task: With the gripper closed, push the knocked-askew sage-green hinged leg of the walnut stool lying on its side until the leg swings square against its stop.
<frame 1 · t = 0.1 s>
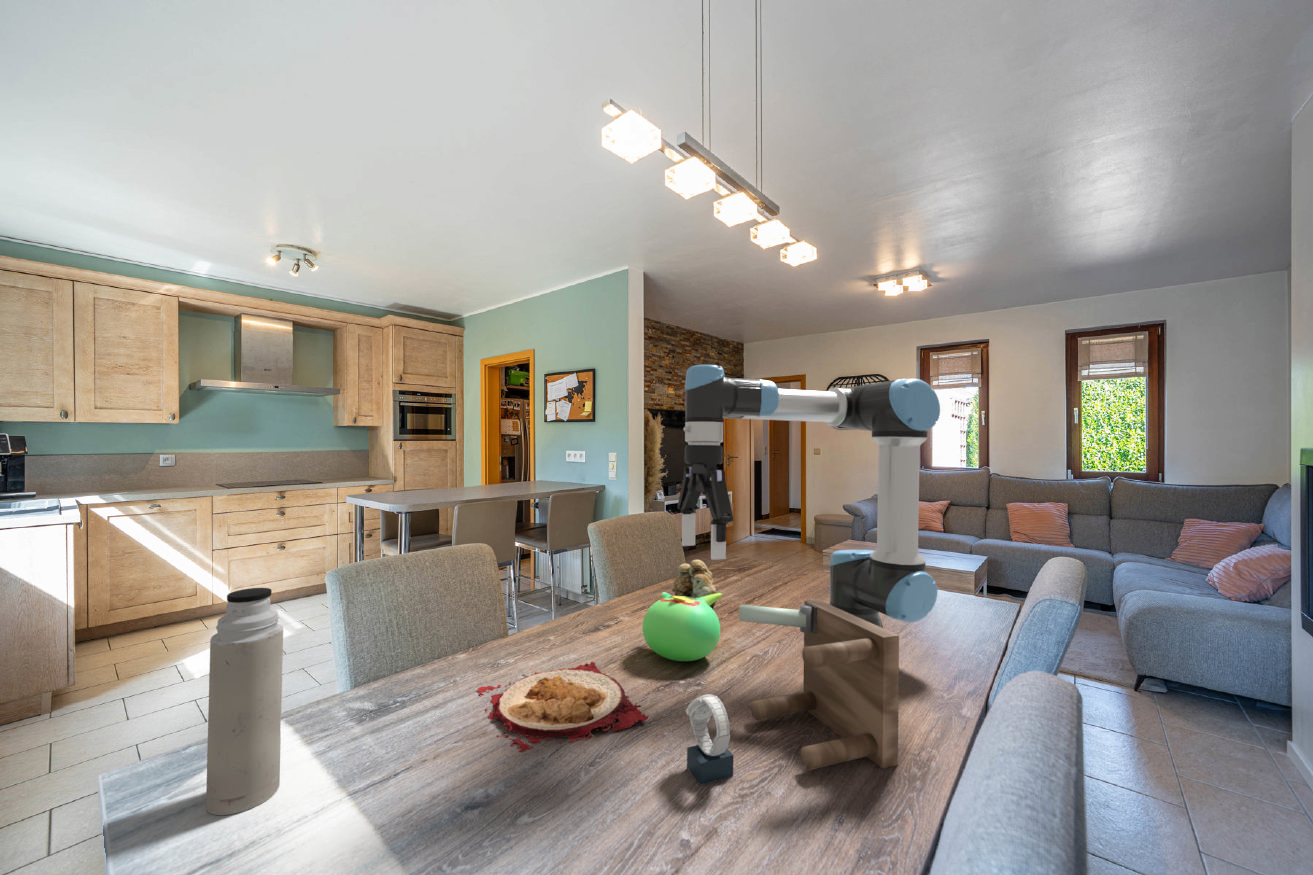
hand: (702, 551, 105), 28 cm above the table, tool pointing down, fingers open, 13 cm apart
watch: (709, 772, 80), on the table
plate with food: (557, 710, 99), on the table
stool: (845, 733, 91), on the table
toy bird: (681, 657, 123), on the table
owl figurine: (693, 621, 148), on the table
thermos bottle: (244, 796, 73), on the table
hinged leg: (775, 616, 99), point 18 cm above the table, hinge at -35.0°
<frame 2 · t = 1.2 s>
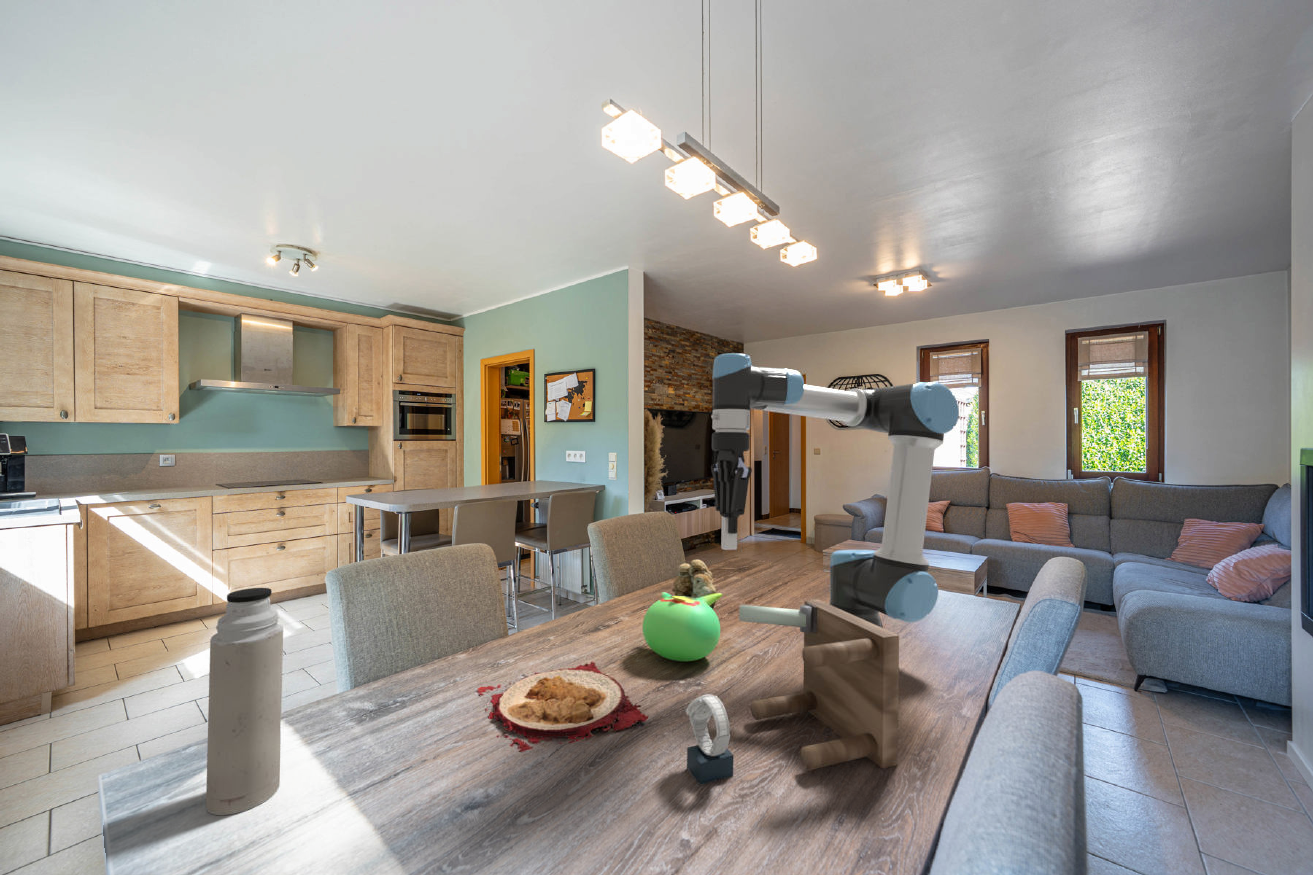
hand: (729, 548, 107), 28 cm above the table, tool pointing down, fingers closed
nothing on the table moved.
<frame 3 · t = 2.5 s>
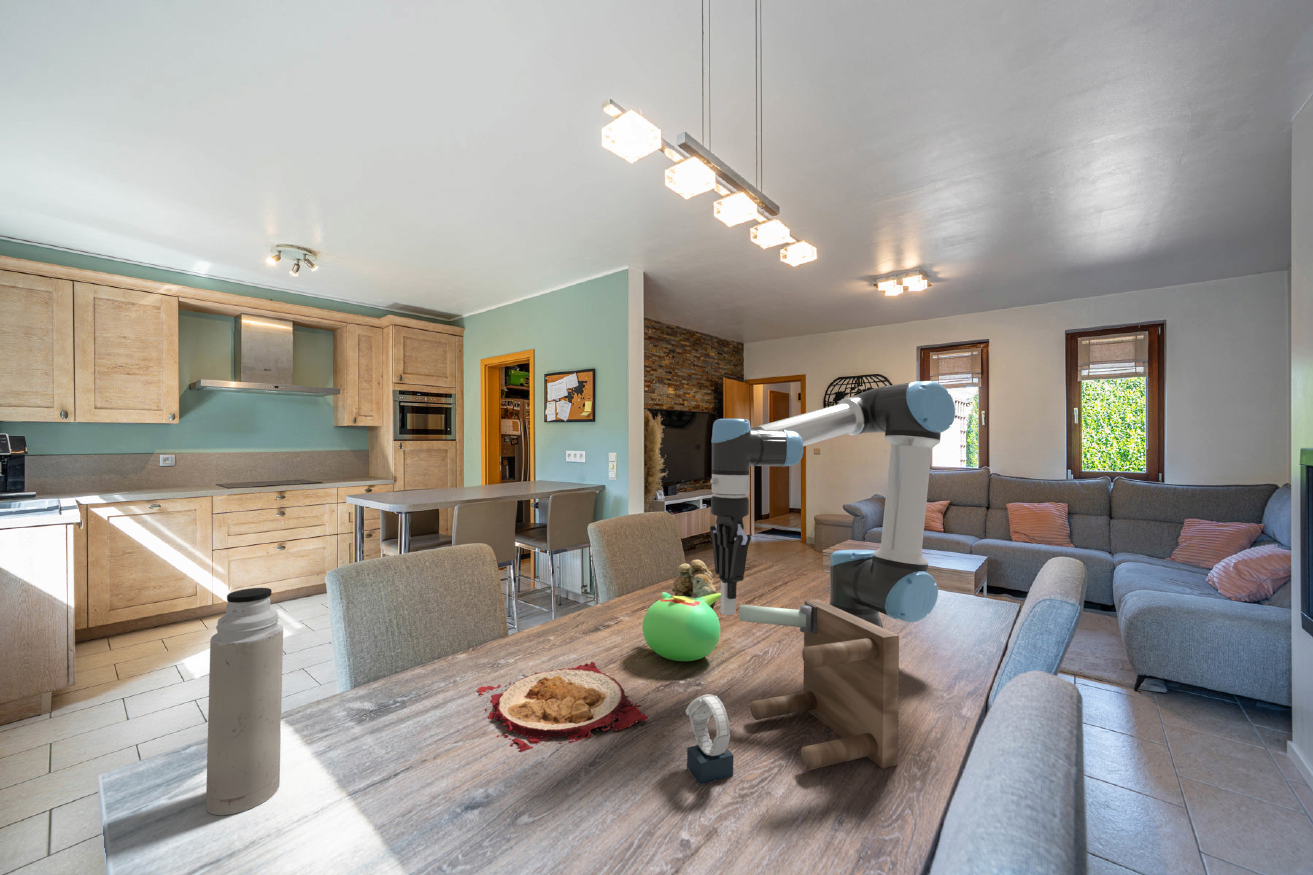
hand: (728, 613, 106), 15 cm above the table, tool pointing down, fingers closed
nothing on the table moved.
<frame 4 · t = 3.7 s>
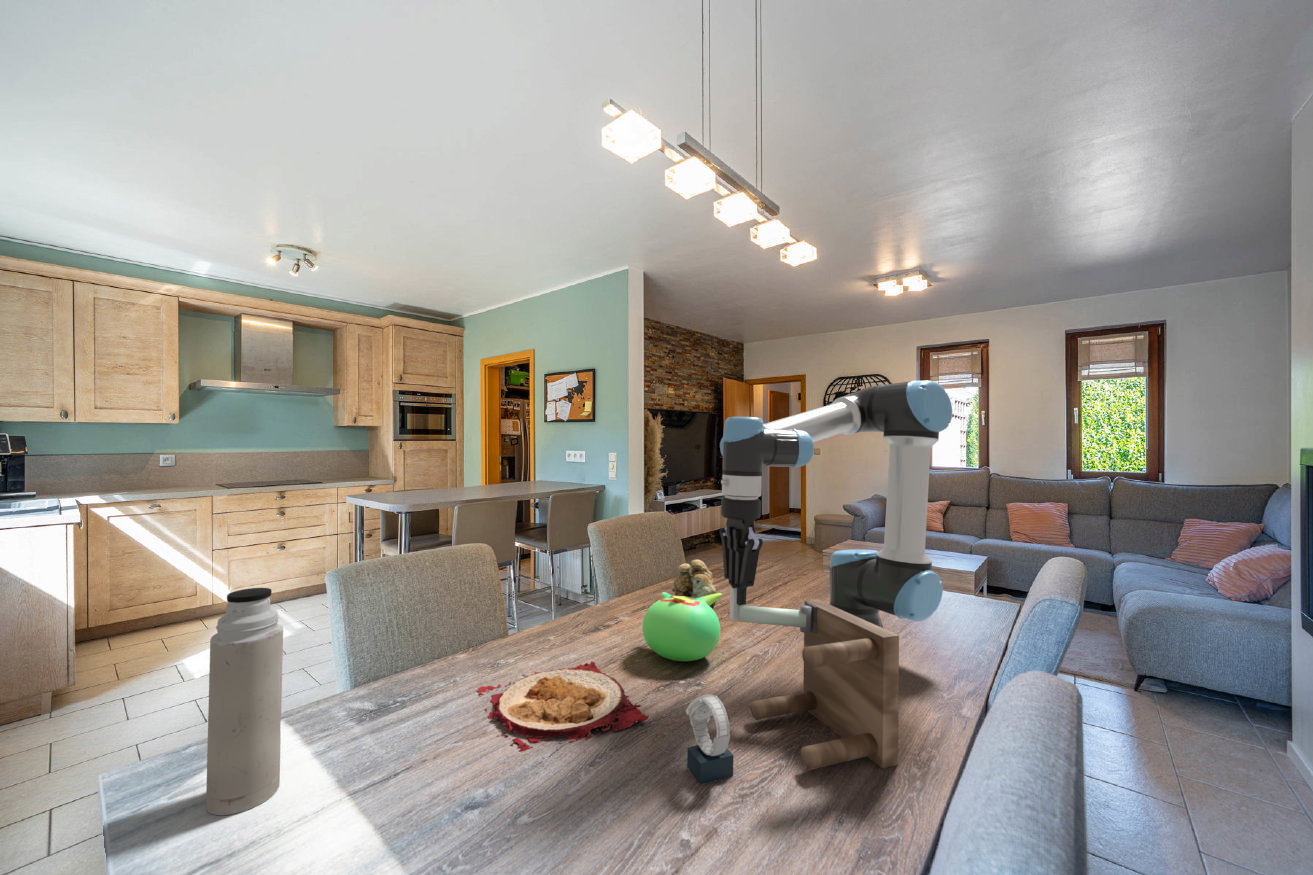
hand: (737, 619, 102), 16 cm above the table, tool pointing down, fingers closed
hinged leg: (775, 616, 99), point 18 cm above the table, hinge at -33.1°, touching gripper
everything else where it was.
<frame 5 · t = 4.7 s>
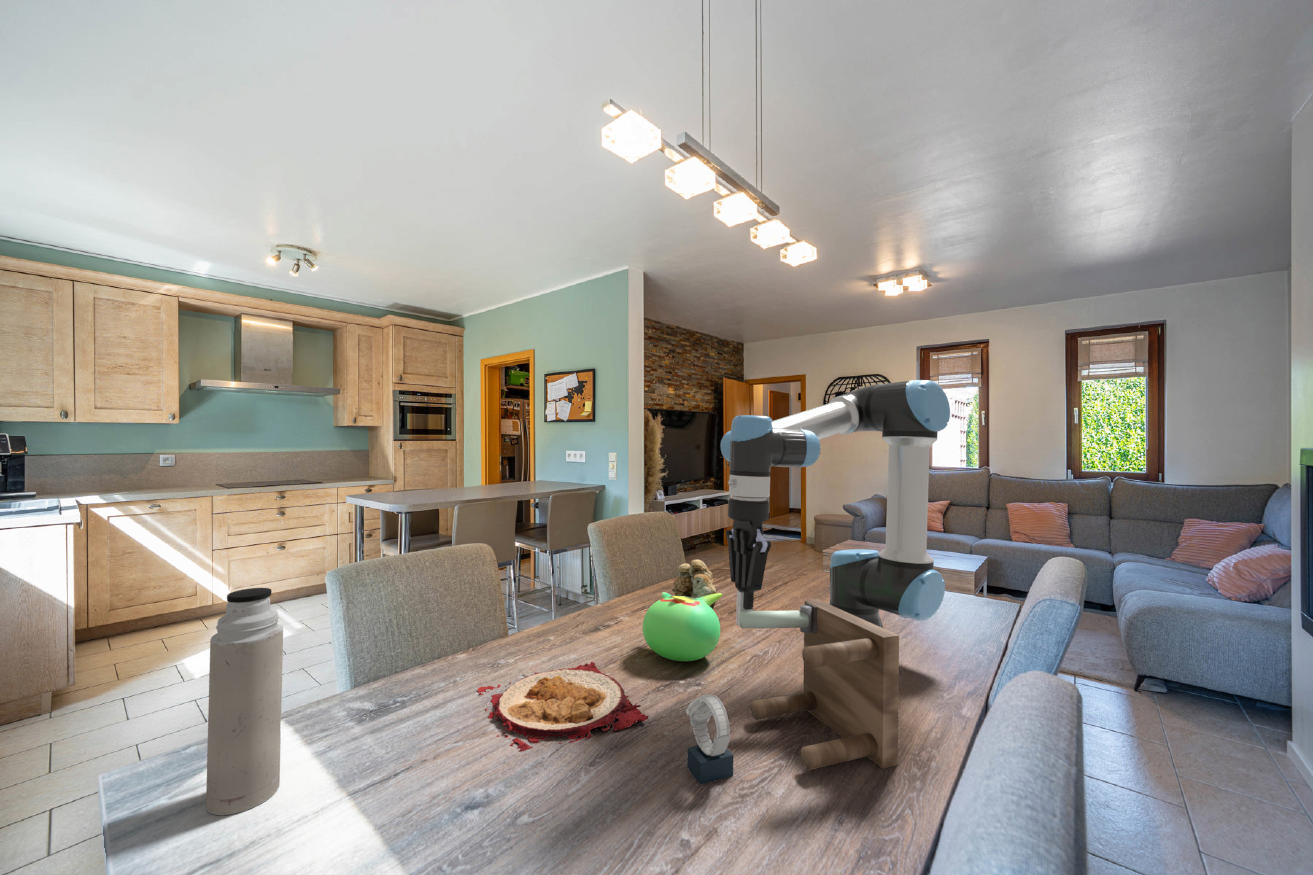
hand: (744, 624, 99), 16 cm above the table, tool pointing down, fingers closed
hinged leg: (776, 619, 97), point 18 cm above the table, hinge at -15.8°, touching gripper
everything else where it was.
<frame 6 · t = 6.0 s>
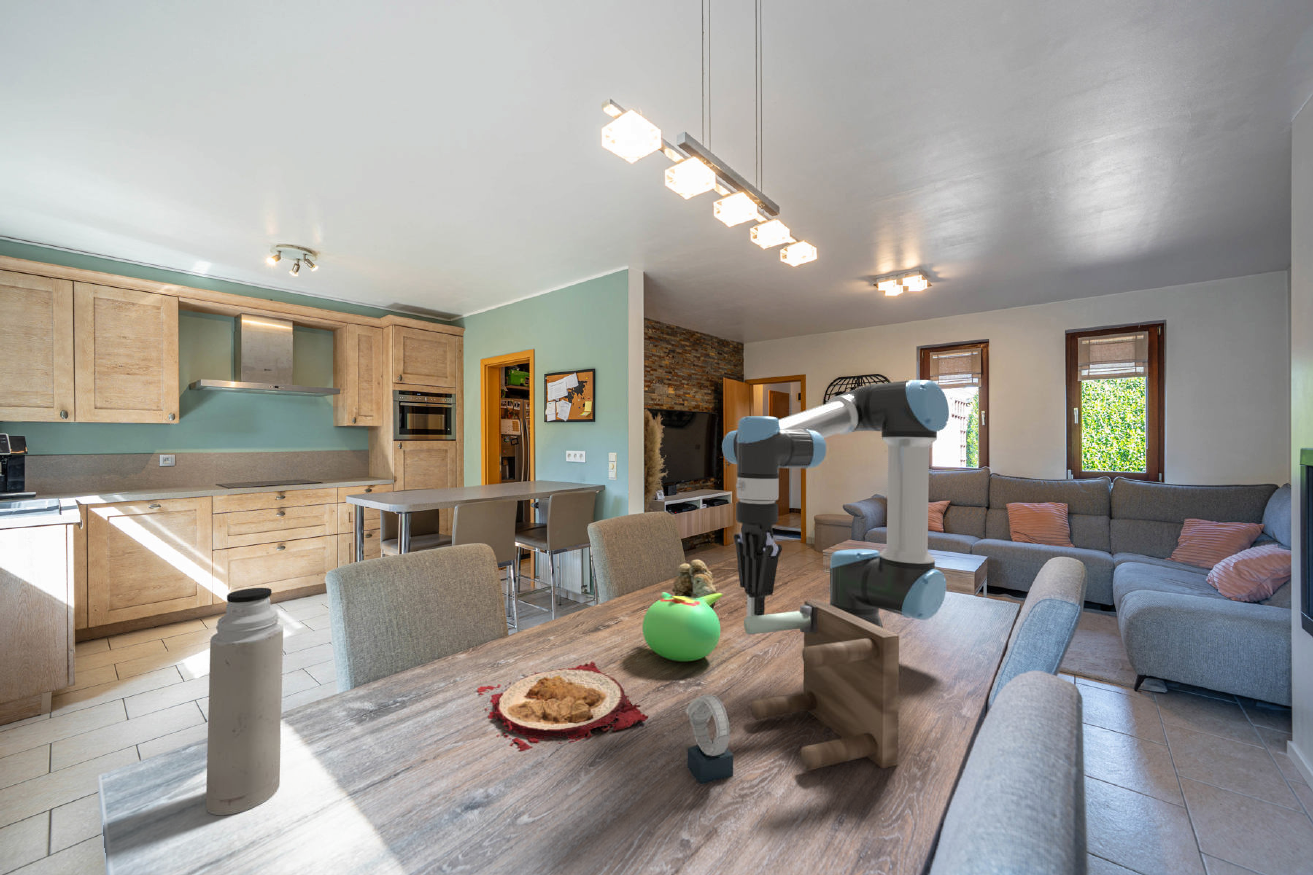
hand: (755, 630, 97), 15 cm above the table, tool pointing down, fingers closed
hinged leg: (779, 621, 96), point 18 cm above the table, hinge at -0.8°
everything else where it was.
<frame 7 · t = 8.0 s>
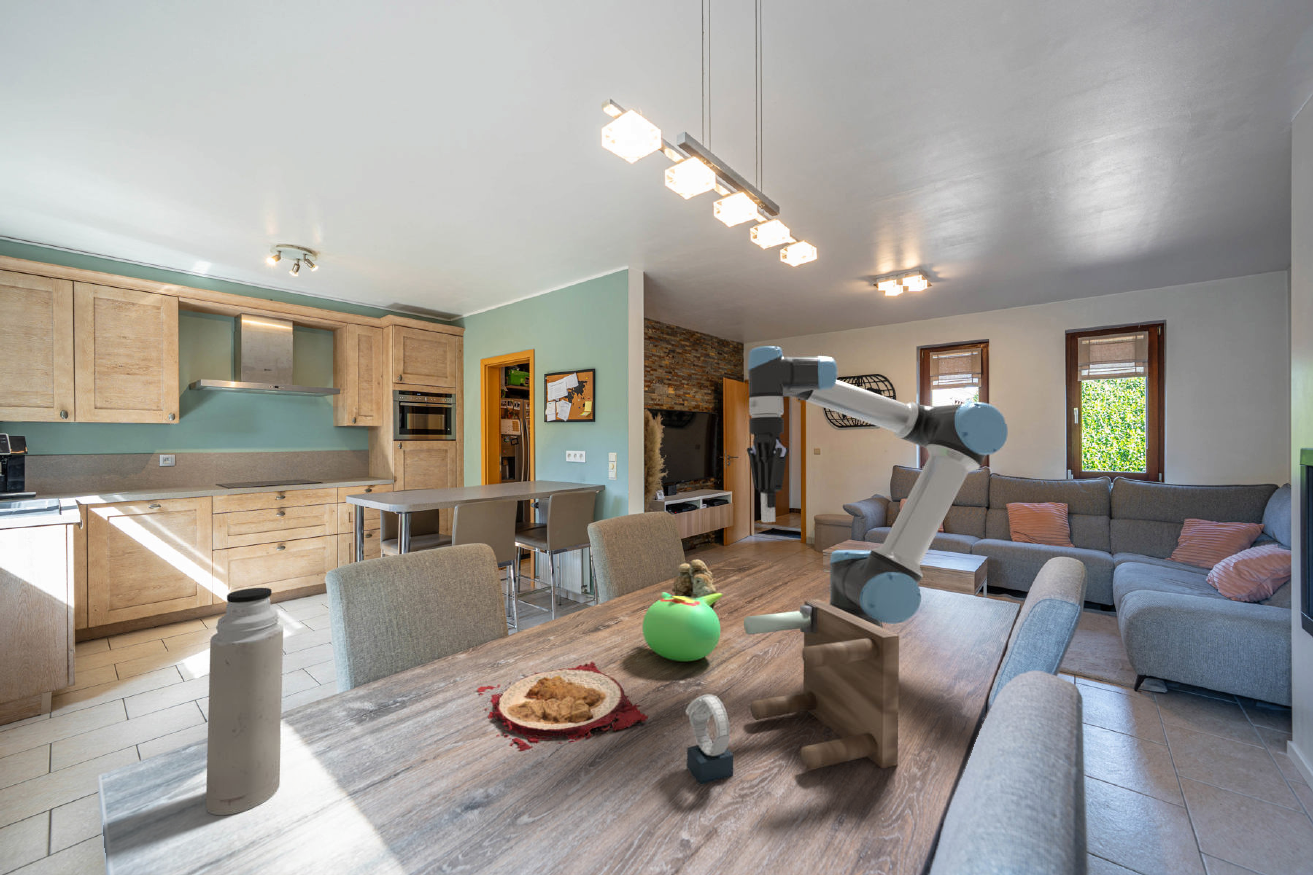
hand: (768, 521, 119), 32 cm above the table, tool pointing down, fingers closed
nothing on the table moved.
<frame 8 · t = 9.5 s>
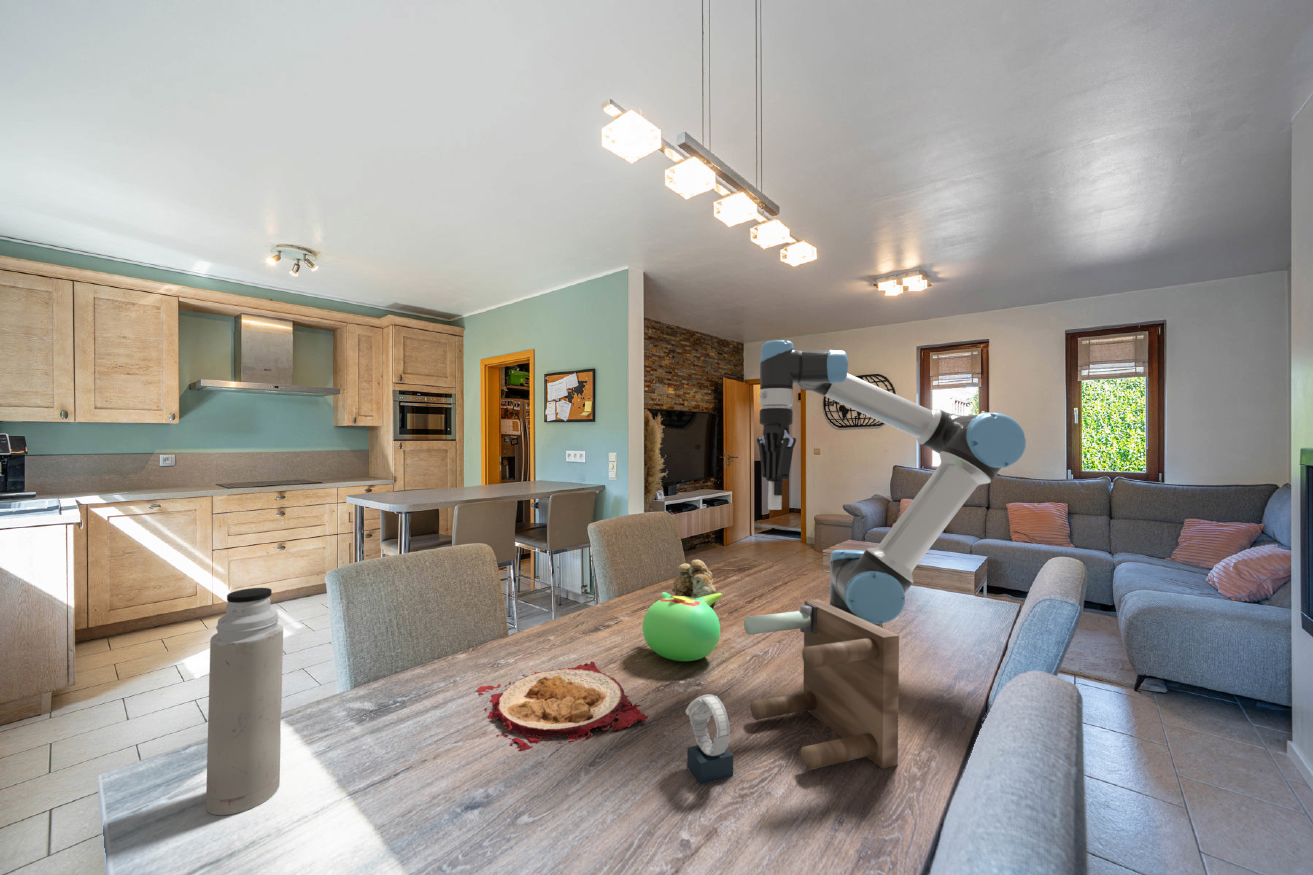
hand: (774, 509, 124), 34 cm above the table, tool pointing down, fingers closed
nothing on the table moved.
at the end: hinged leg at -1° (first picture: -35°); toy bird moved 0.2 cm from its start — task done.
